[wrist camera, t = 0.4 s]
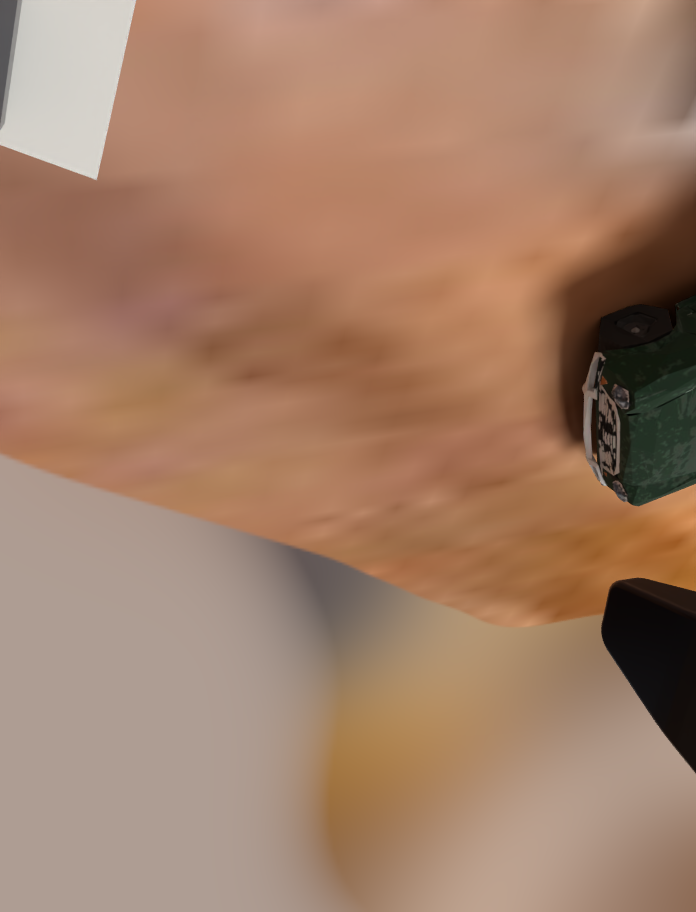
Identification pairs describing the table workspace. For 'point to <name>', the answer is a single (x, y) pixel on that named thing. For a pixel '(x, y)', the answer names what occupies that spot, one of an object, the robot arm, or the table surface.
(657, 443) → the miniature car
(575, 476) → the table surface
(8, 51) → the on breaker
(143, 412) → the table surface
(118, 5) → the breaker panel
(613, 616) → the robot arm
